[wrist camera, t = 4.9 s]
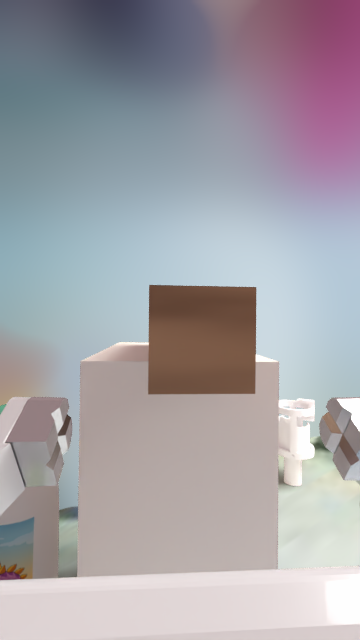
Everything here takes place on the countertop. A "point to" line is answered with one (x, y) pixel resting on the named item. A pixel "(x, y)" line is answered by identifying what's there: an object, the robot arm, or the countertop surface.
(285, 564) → the countertop surface
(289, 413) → the white plastic fitting
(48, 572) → the milk bottle
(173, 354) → the walnut rail
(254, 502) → the white box
